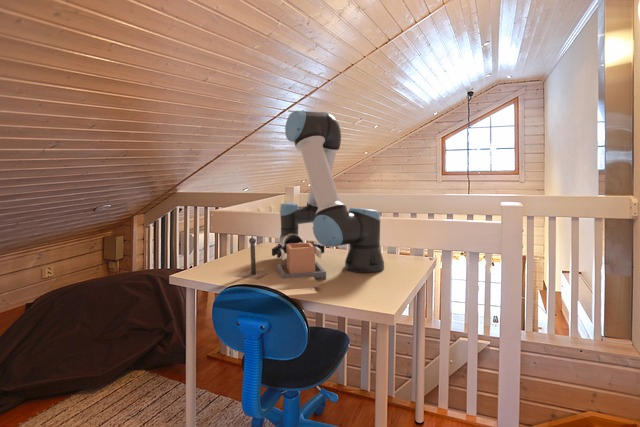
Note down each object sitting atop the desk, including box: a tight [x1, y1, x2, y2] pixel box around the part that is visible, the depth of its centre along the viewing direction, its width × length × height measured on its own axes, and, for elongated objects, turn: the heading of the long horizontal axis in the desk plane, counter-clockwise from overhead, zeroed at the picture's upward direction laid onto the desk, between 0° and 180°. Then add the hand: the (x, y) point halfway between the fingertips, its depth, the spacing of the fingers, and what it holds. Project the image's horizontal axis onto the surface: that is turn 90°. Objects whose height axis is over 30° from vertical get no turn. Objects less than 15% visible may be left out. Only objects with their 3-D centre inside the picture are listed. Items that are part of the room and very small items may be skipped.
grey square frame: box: [276, 261, 327, 281], centre depth 145 cm, size 15×15×2 cm
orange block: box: [286, 242, 316, 274], centre depth 145 cm, size 9×9×10 cm
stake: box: [233, 237, 273, 280], centre depth 141 cm, size 10×10×15 cm
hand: (302, 255), depth 141 cm, fingers open, 12 cm apart
